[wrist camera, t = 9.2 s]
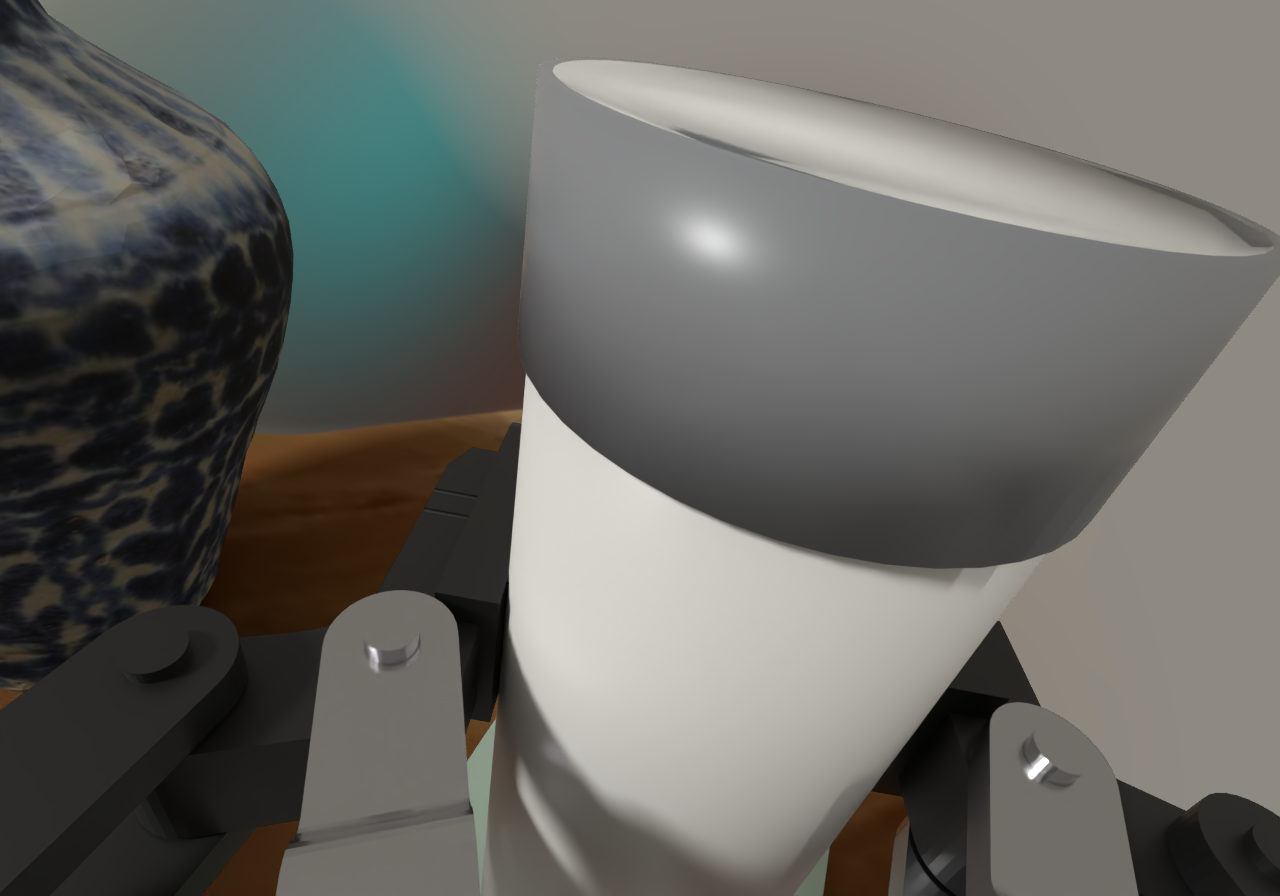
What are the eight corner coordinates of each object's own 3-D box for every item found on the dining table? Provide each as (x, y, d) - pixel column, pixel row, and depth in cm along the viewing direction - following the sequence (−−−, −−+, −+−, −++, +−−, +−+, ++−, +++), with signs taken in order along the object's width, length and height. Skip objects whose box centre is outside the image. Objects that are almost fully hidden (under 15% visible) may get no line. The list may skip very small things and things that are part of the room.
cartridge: (415, 991, 12) (358, 56, 3) (552, 751, 16) (680, 57, 8) (675, 1160, 11) (1546, 380, 2) (751, 855, 15) (1165, 172, 6)
